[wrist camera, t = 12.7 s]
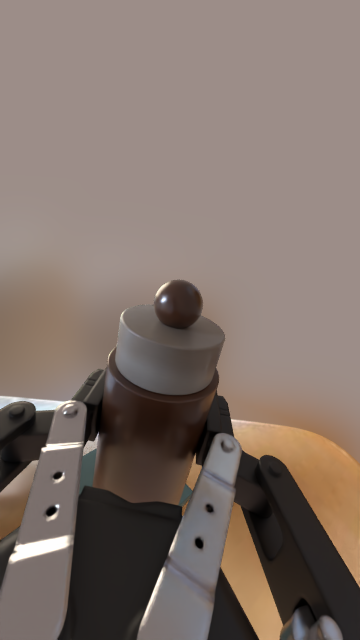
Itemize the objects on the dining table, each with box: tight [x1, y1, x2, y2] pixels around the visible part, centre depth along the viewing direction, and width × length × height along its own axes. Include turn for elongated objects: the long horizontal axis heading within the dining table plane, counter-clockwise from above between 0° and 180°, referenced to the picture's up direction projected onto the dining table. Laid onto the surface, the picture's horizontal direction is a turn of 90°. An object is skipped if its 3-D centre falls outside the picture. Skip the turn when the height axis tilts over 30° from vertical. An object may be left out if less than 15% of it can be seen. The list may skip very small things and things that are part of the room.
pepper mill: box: [92, 280, 225, 505], centre depth 11 cm, size 5×5×15 cm
